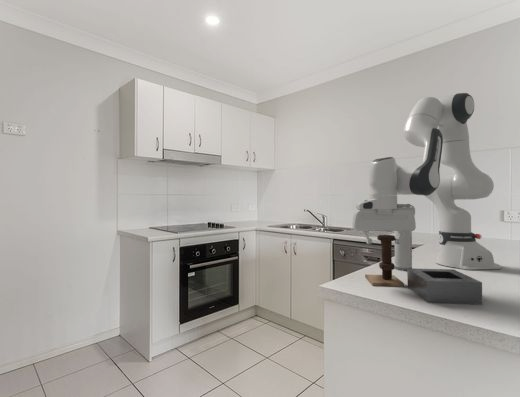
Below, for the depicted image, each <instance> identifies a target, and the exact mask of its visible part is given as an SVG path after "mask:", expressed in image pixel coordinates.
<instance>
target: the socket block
mask: <svg viewBox="0 0 520 397" xmlns="http://www.w3.org/2000/svg"><path fill="white" fill-rule="evenodd" d="M406 272H407V287H408V289H410V290H411V291H412V292H413V293H415V294H416V295H418V296H419V297H420V298H421V299H422V300H423V301H425V302H426V303H432V304H433V303H435V304H437V303H438V304H460V305H483V282H482V281H480V280H478V279H475V278H473V277H471V276H469V275H468V274H465V273H463V272H460V271H458V270H456V269H455V268H453V269H449V268H447V269H445V268H413V267H412V268H407V271H406Z"/></svg>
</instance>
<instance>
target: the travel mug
mask: <svg viewBox="0 0 520 397" xmlns="http://www.w3.org/2000/svg"><path fill="white" fill-rule="evenodd" d="M412 232H413V231H404V236H403V237H402V239H401V244H395V243H394V265H395V269H396V270H397V269H398V270H397V271H402V270H403V271H405V272H407V268H413V248H412V247H413V244H412V243H413V242H412V241H413V237H412V236H413V233H412ZM394 236H395V239H397V238H398V236H399V234H398V231H394ZM395 269H394V270H395ZM403 271H402V272H403Z"/></svg>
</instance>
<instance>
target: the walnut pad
mask: <svg viewBox="0 0 520 397" xmlns="http://www.w3.org/2000/svg"><path fill="white" fill-rule="evenodd" d="M364 277H365V279H366V280H367V281H368V282H369V284H370V285H371V286H373V287H374V286H376V287H378V286H379V287H401V286H403V288H404V287H405V282H403V281H402V280H400V279H399V277H397V276H395V275H394V274H392V279H390V280H385V279H383V278H382V274H364Z"/></svg>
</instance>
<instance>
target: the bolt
mask: <svg viewBox="0 0 520 397" xmlns="http://www.w3.org/2000/svg"><path fill="white" fill-rule="evenodd" d="M376 239H377V240H378V241H380V245H381V246H380V247H381V262H379V264H378V267H379V268H380V270H381V271H382V272H381V275H382V278H383V279H385V280H390V279H392V275H393V271H394V270H395V263H394V262H393V260H392V245H393V244H392V243H393V242H395V235H391V234H379V235H377V238H376Z"/></svg>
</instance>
